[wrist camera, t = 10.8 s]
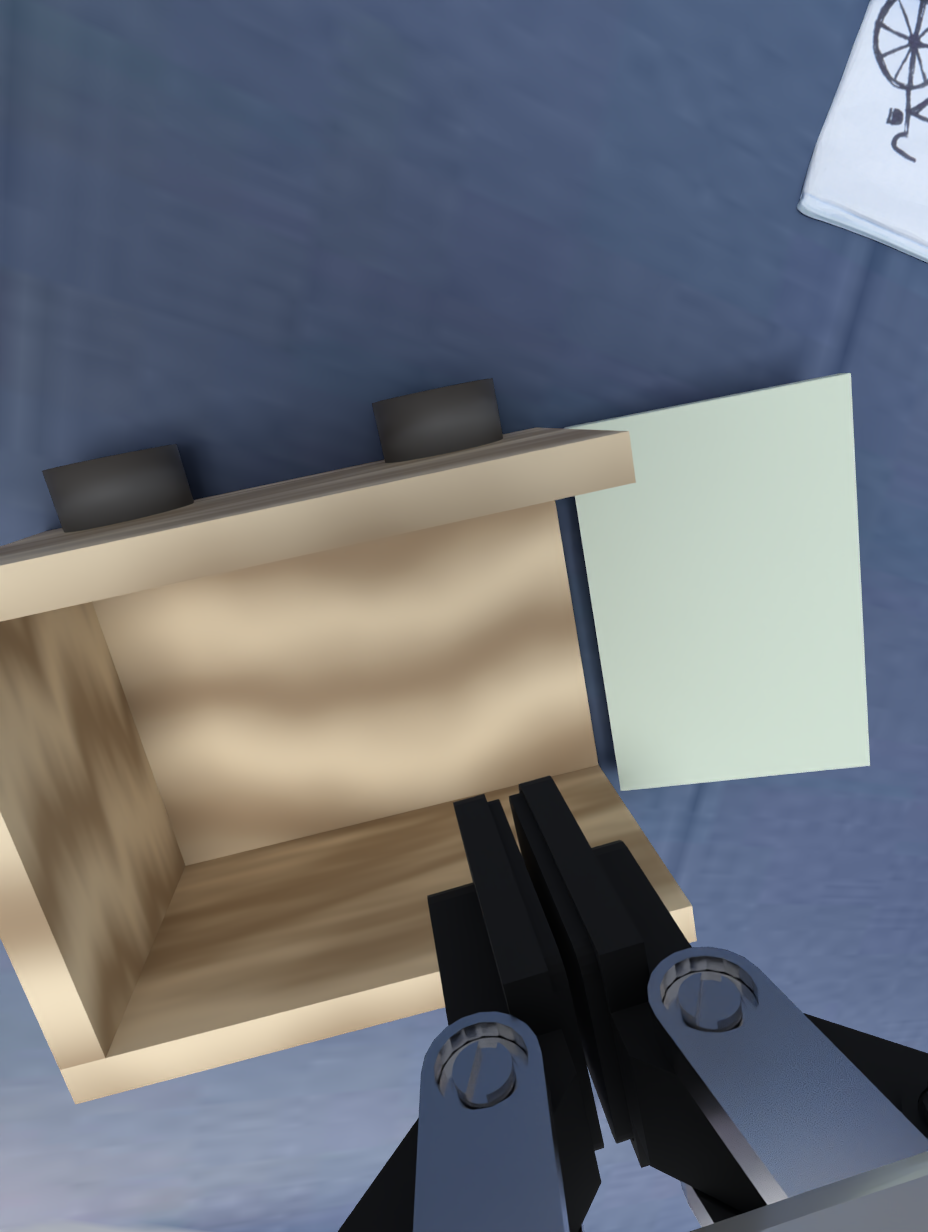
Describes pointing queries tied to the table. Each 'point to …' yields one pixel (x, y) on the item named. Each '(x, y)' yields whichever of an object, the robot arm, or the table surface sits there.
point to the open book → (878, 134)
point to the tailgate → (732, 588)
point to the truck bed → (282, 732)
